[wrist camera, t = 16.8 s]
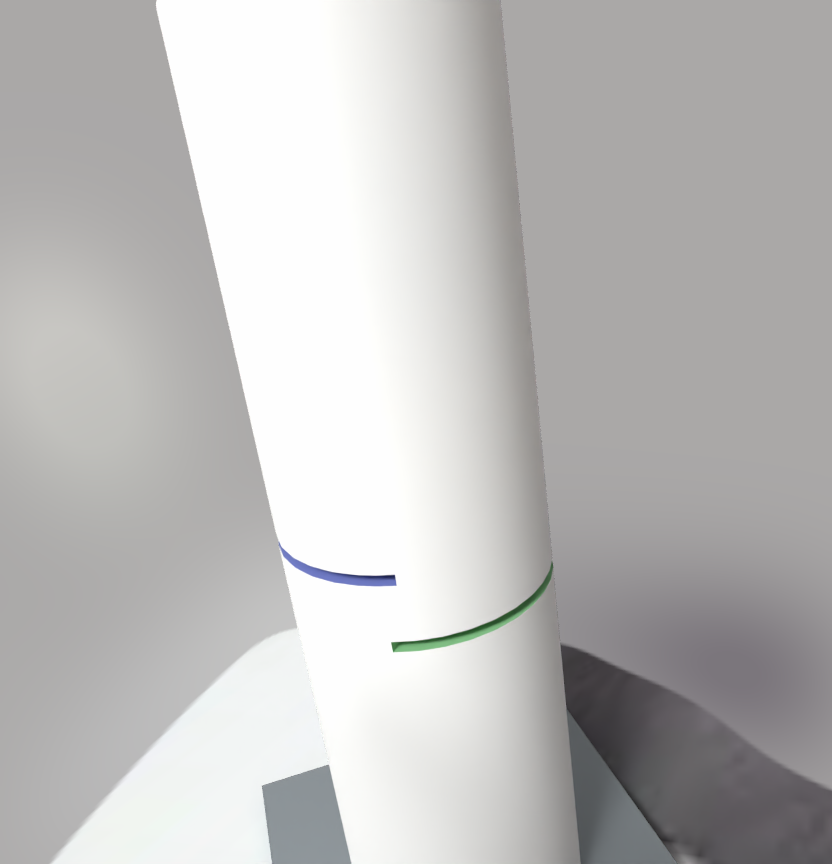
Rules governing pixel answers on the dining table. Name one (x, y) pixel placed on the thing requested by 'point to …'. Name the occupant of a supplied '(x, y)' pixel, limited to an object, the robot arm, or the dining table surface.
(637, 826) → the rubber mat
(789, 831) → the dining table surface
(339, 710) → the cylindrical container
